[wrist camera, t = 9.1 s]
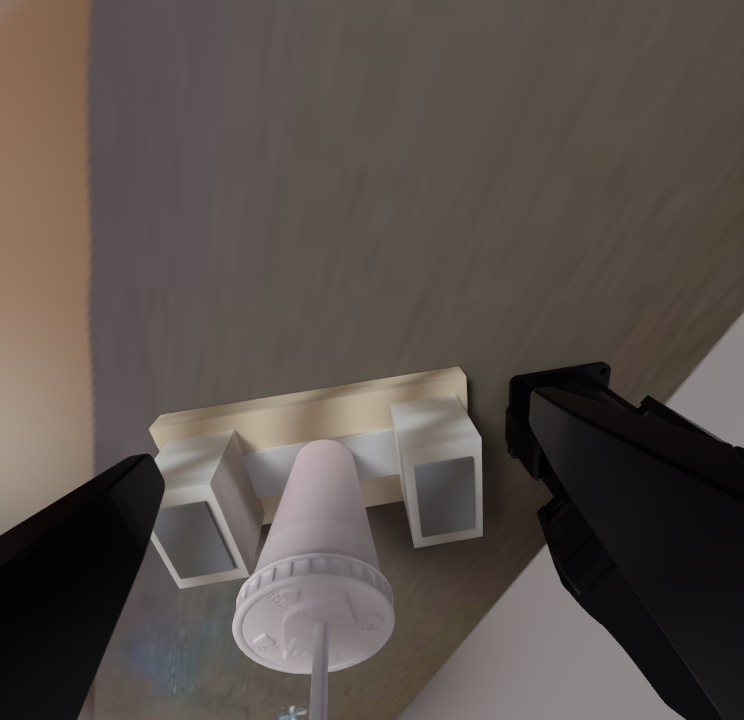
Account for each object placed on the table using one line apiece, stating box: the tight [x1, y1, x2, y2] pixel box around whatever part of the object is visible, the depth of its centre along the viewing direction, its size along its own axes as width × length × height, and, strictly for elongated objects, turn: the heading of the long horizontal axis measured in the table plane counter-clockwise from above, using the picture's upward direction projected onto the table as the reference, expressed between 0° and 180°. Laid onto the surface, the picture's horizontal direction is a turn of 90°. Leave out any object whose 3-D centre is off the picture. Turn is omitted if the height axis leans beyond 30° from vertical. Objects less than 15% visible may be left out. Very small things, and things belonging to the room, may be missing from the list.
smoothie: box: [232, 440, 395, 720], centre depth 16 cm, size 6×6×14 cm
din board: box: [149, 366, 483, 589], centre depth 21 cm, size 19×9×6 cm, turn 98°
